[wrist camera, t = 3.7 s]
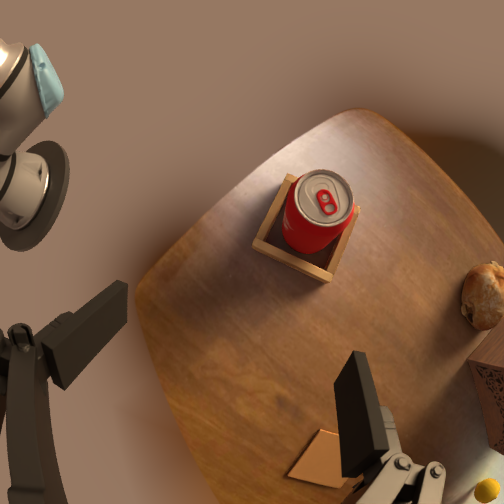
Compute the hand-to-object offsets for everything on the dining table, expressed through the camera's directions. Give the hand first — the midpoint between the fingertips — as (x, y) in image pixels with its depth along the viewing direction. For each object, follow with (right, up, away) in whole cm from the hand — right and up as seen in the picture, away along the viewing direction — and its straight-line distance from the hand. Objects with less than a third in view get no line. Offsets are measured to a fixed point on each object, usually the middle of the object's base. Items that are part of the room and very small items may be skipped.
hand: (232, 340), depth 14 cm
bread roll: (+36, -2, +17) cm, 40 cm away
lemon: (+49, -44, +9) cm, 66 cm away
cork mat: (+12, -24, +14) cm, 31 cm away
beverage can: (+8, +7, +20) cm, 23 cm away
